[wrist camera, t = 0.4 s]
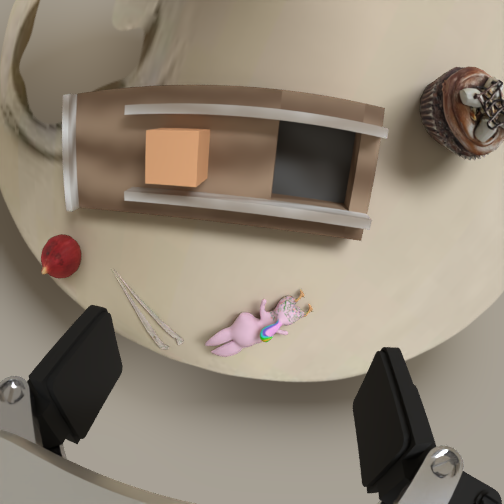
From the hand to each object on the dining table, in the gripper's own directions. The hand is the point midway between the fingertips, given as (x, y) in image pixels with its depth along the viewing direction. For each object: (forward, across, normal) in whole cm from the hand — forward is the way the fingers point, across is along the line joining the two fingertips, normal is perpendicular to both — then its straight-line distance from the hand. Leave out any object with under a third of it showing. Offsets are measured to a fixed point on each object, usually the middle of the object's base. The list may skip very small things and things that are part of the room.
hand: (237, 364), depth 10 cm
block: (+22, +9, -4) cm, 24 cm away
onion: (+26, +27, +10) cm, 39 cm away
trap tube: (+25, +7, -4) cm, 27 cm away
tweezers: (+27, +17, +18) cm, 36 cm away
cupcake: (+25, -19, -13) cm, 34 cm away
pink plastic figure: (+26, 0, +17) cm, 31 cm away
